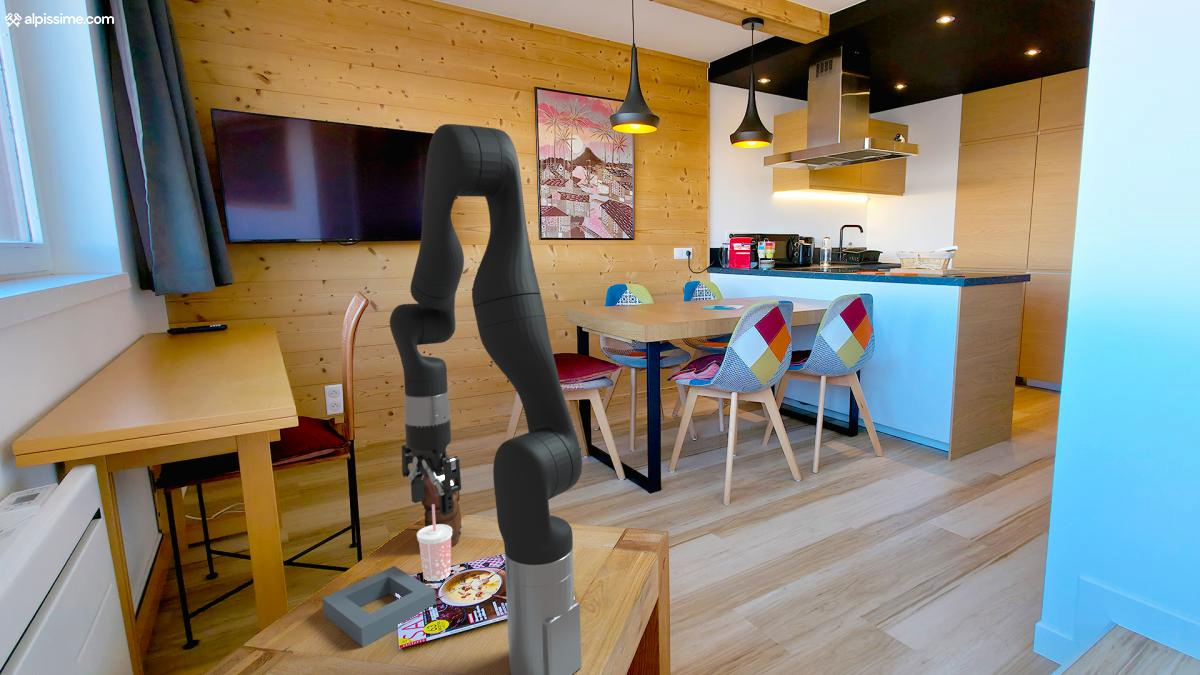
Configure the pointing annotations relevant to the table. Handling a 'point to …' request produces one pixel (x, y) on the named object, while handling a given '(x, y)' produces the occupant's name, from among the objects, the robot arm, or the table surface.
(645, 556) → the table surface
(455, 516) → the wooden figurine
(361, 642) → the hole plate
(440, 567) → the beverage cup
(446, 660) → the table surface
